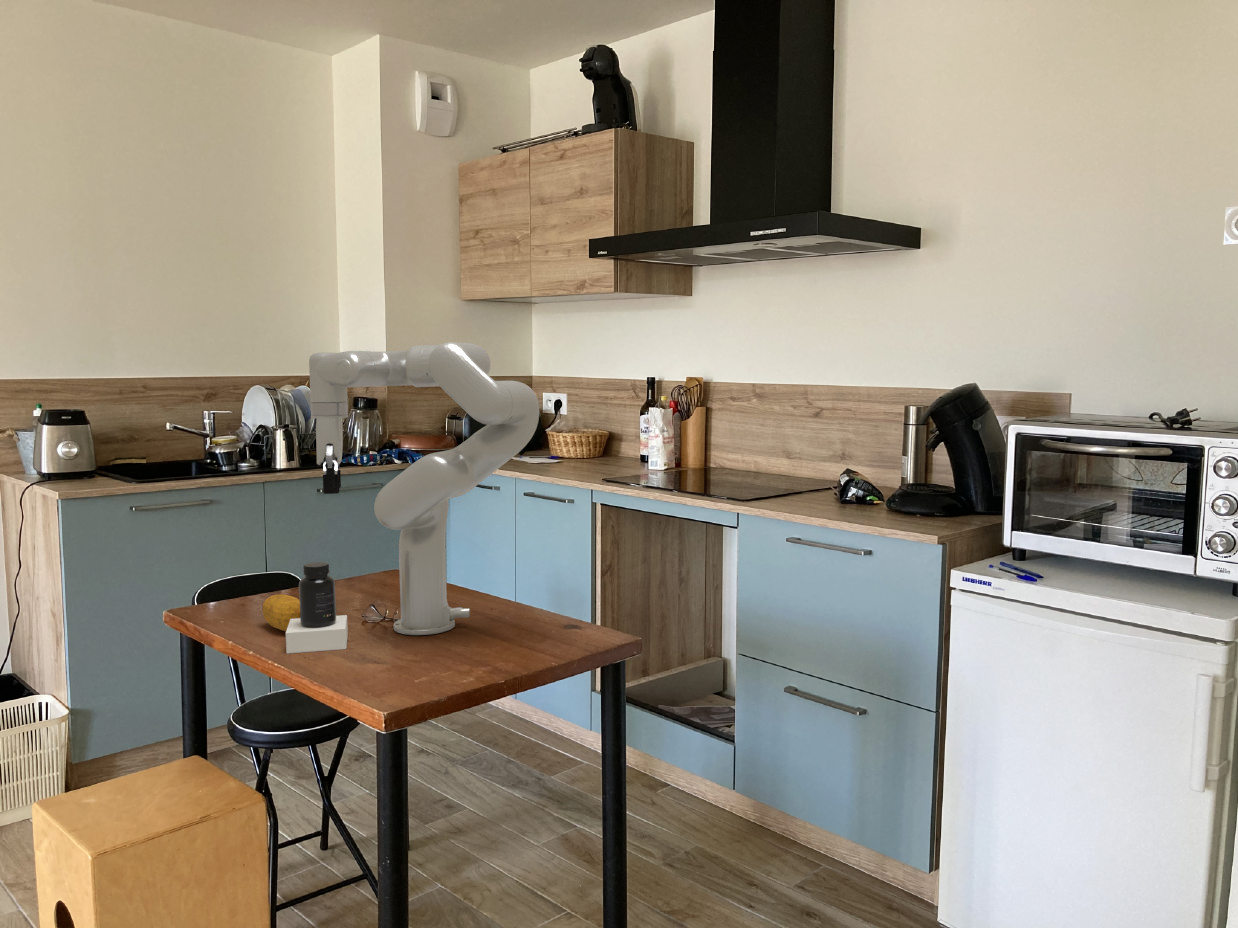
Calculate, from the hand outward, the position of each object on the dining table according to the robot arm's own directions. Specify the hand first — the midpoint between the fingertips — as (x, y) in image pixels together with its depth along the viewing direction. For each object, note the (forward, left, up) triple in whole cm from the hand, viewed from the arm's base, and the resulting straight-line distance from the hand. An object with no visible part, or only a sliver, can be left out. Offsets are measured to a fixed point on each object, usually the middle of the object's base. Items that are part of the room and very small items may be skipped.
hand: (332, 490), depth 204 cm
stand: (+3, +18, -28) cm, 34 cm away
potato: (+10, +5, -29) cm, 31 cm away
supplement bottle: (+3, +18, -24) cm, 31 cm away
